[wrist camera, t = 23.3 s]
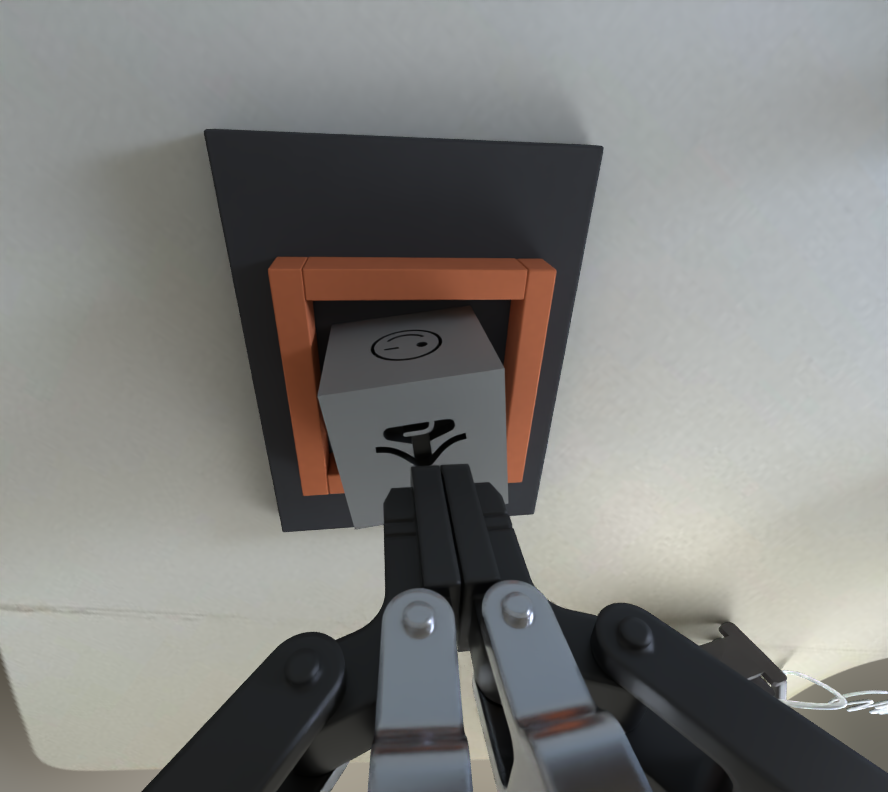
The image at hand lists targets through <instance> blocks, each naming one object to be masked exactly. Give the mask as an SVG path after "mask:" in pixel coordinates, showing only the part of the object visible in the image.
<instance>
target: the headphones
mask: <svg viewBox="0 0 888 792" xmlns="http://www.w3.org/2000/svg"><path fill="white" fill-rule="evenodd" d="M873 693H880V694H888V691H878V690H872V691H871V690H870V691H860V692H853V693H849V694H844V695H842V696H843V697H844V698H846V697H850V696H855V695H861V694H873ZM837 700H839V698H837V697H835V698H833V699H831V700H830V701H829V702H828V703H832V702H834V701H837ZM858 703H863V704H859V705H856V706H852V707H849V708H847V711H855V710H859V709H864V708H868V707H872V706H875V708H876V709H873V710H870V713H872V714H876V713H879V714H888V700H884V701H880V702H876V703H873V701H872V700H867V699H866V700H857V701H850V702H847V704H846V705H851V704H858Z"/></svg>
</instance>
